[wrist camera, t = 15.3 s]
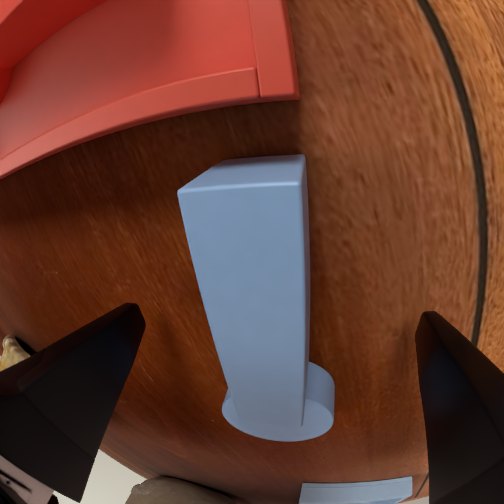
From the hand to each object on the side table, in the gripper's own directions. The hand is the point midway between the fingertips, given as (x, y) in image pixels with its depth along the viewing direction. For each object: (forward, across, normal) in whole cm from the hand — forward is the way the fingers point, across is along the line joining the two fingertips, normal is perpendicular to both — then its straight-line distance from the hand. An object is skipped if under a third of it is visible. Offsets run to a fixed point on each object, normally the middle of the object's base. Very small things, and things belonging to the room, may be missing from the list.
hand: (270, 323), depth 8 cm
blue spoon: (+1, 0, +1) cm, 2 cm away
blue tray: (+1, -7, +32) cm, 32 cm away
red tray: (+1, +7, -12) cm, 14 cm away
